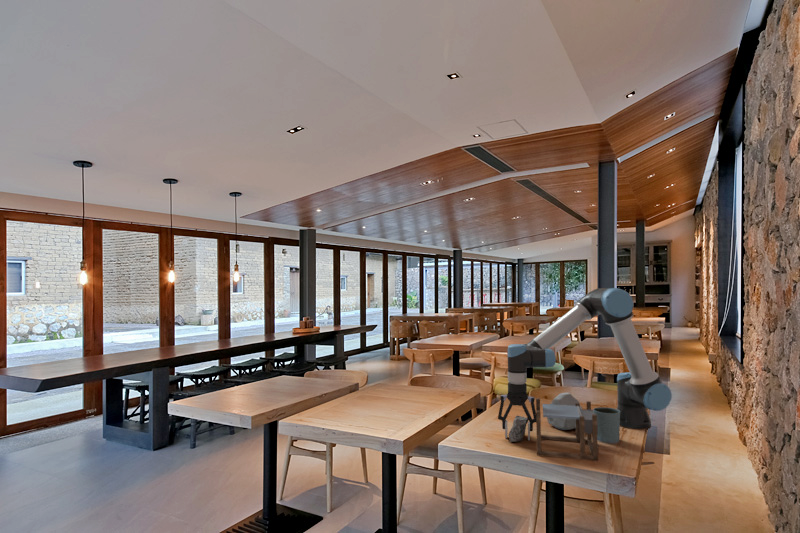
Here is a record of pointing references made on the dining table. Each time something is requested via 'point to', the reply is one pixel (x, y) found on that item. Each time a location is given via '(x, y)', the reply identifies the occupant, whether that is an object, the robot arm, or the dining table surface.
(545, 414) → the grey hammer-shaped piece
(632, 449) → the dining table surface
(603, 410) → the grey-green cylindrical pot
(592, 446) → the brown wooden frame
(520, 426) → the rock
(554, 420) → the stone
